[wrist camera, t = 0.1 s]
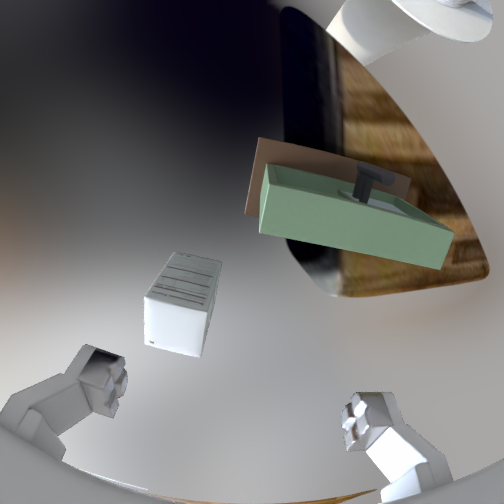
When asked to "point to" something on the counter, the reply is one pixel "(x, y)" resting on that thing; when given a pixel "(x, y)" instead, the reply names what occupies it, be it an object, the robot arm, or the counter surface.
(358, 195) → the sliding pane
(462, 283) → the counter surface
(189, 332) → the white packaging box
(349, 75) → the counter surface
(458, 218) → the counter surface
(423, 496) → the robot arm
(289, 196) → the window frame
